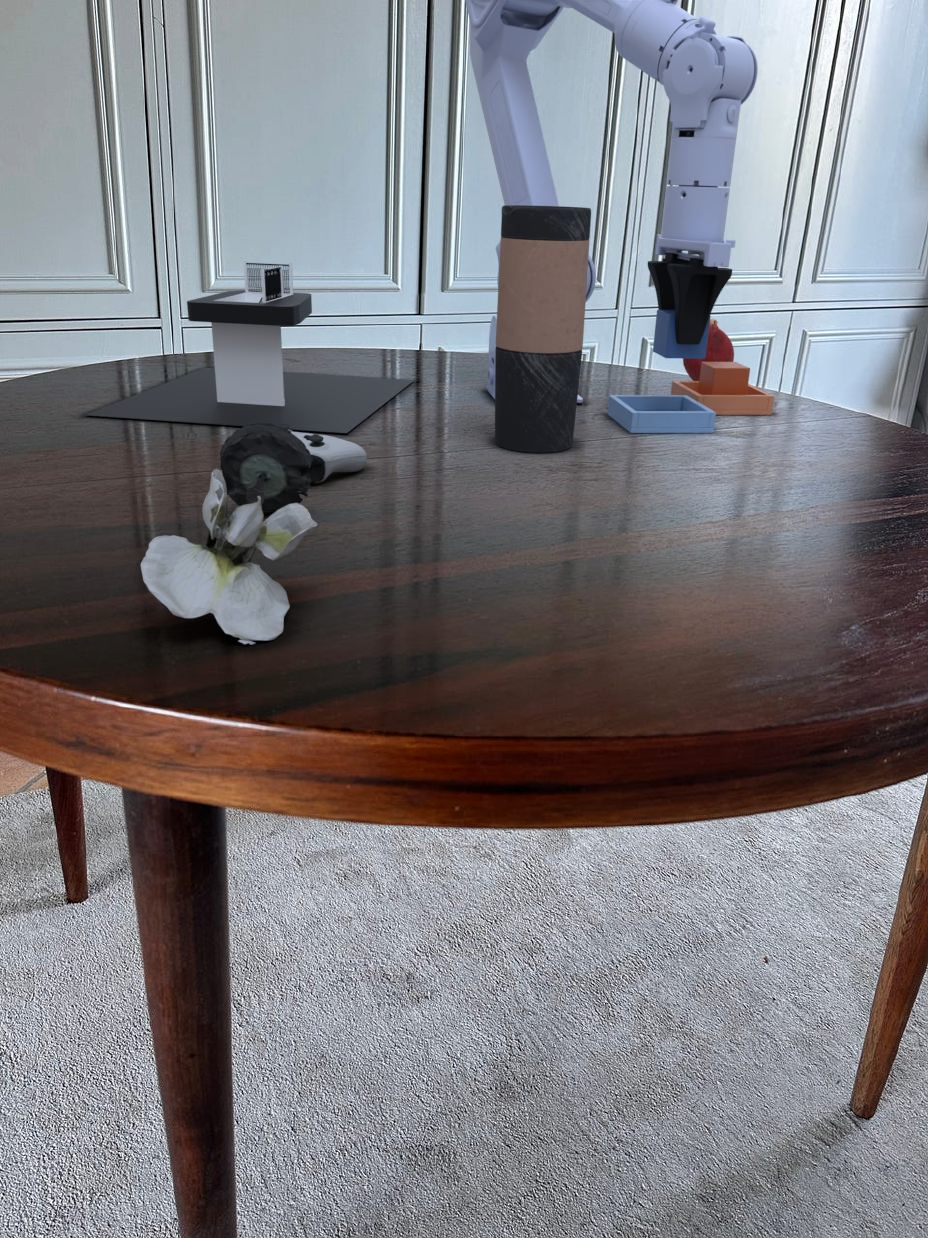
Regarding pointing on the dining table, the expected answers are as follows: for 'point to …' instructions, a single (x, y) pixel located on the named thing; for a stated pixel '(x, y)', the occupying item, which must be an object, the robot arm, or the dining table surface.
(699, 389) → the rust block
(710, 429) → the slate tray
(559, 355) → the travel mug
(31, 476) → the dining table surface
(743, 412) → the terracotta tray
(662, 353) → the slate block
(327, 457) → the game controller
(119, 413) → the black-topped pedestal
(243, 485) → the artificial flower
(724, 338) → the onion
